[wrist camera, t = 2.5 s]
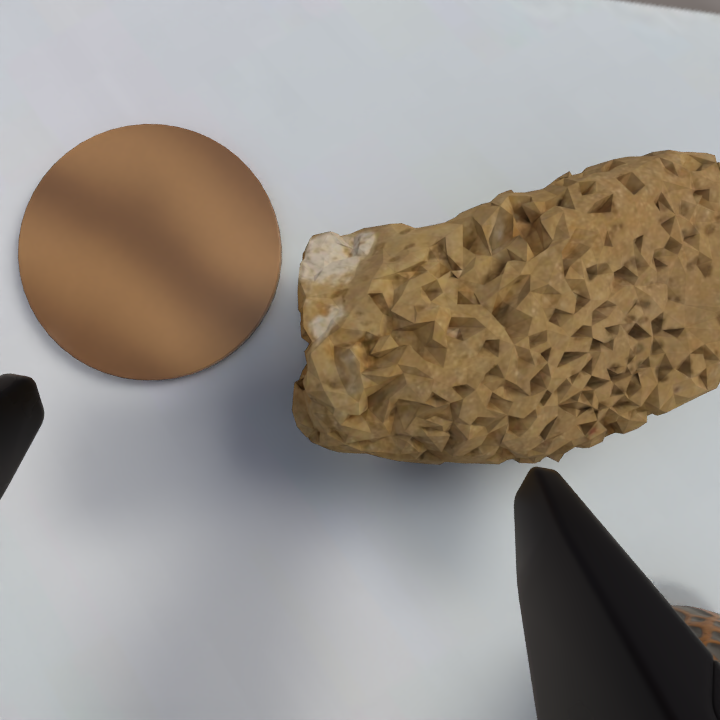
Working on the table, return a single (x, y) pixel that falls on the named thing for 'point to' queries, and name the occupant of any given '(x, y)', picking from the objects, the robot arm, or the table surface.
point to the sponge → (517, 318)
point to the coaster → (149, 252)
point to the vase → (703, 626)
